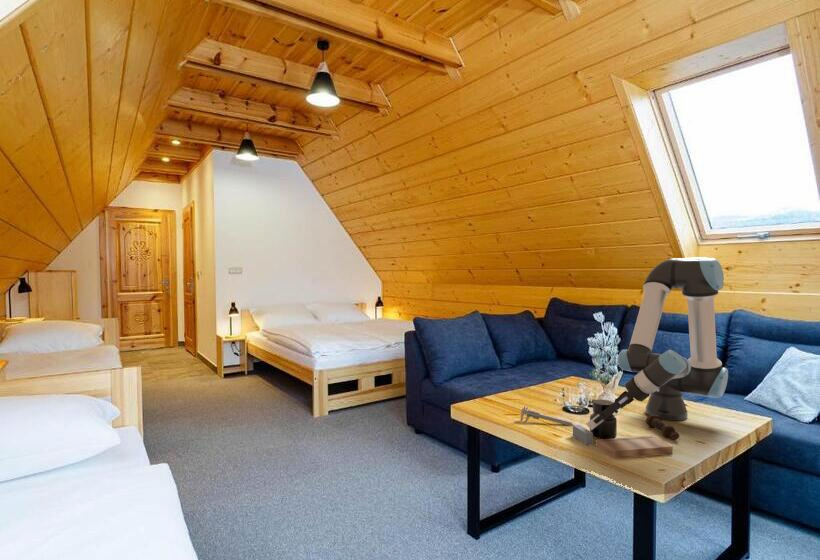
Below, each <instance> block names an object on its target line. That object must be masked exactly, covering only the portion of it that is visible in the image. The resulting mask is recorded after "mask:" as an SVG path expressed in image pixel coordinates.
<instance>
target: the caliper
mask: <svg viewBox="0 0 820 560" xmlns="http://www.w3.org/2000/svg"><path fill="white" fill-rule="evenodd" d="M528 408H529V406H527V407H526V405H524V406H523V408H522V409H521V410H520V411H521V412H520V421H521V422H523V418H524V416H525V415H526V418H525V422H526V423H527V422H528V420H529V419H530V417H531V418H533V419H534V420H539V419H543V420H546V421H550V422H554V423H558V424H561V425H564V426H569V425H572V426H573V425H576V424H575V423H573V422H572V421H569V420H566V419H562V418H559V417H554V416H551V415H546V414H543V413H541V412H539V411H535V410H533V409H528Z"/></svg>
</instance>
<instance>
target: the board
mask: <svg viewBox="0 0 820 560" xmlns="http://www.w3.org/2000/svg"><path fill="white" fill-rule="evenodd" d="M595 447H596V448H597V449H599V450H600V451H601V452H603V453H604V454H606V455H608V456H609V457H610V458H612V459H614V460H615V459H625V458H626V459H627V458H634V457H635V458H636V457H637V458H638V457H639V458H640V457H650V456H659V455H673V453H674V452H673V450H674V449H673V446H672V445H671V444H669V443H667V442H665V441H663V440H661V439H660V438H658V437H656V436H653V435H642V436H629V437H628V436H627V437H616V438H614V439H596V441H595Z"/></svg>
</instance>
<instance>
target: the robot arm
mask: <svg viewBox="0 0 820 560" xmlns="http://www.w3.org/2000/svg"><path fill="white" fill-rule="evenodd" d="M724 277H725V276H724V270H723V268H722V264H721V263H720V261H719V260H718V259H716V258H713V257H711V258H710V257H683V258H681V257H679V258H678V257H677V258H676V257H673V258H668V259H665V260H662V261H661V262H660V263H658V264H656V266H655V267H653V268H652V270H650V272H649V274H647V276H646V278H645V280H644V283H643V286H642V289H643V291H644V293H643V296H642V301H641V304H640V307H639V311H638V315H637V318H636V320H635V321H636V322H635V323H634V324H635V325H634V329H633V331H632V336H631V337H630V338H631V339H630V343H629V345H628V346H629V347H628V348H627V349H621V350H620V352H619V354H618V356H617V365H618V367H619V368H620V369H621V370H622V371H627V372H631V373H636V374H635V375H634V377H631V378H630V379H629V380H627V382H625V384H624V386H625V389H626V390H625V391H623V392H622V393H620V395H619V396H618V397H617V398H615V399H614V402H613V404H611V405H610V406H609V407H607V408H606V409H605V410H604V411H602V412H599V411H598V413H599V414H598V415H596V416H595V417H594V418H593V419H591V420H590V419H589V420H588V421H587V422H586V423H585V425H586V426H587V427H588V428H589V430H590V429H591V430H592V429H594V428H595V427H596V426H598V425H599V424H600V423H602V422H603V421H604V420H606V418H607V417H609V416H610V415H611V414H613V415H614V414H618V413H619V411H618V410H620V409H623V408H624V407H626V406H627V405H629V404H631V403H633V401H635V400H636V401H639V402H643V401H645V400H646V399H647V398H648V400H647V403H646V405H645V414H646V415H647V416H649V415H651V414H655V415H658V416H659V417H660V419H661V420H664V421H683V420H684V421H685V420H687V419H688V415H689V414H688V410H687V407H686V404H685V400H684V399H683V398H684V396H683V394H684V393H685V394H690V395H691V394H692V395H695V396H696V395H697V396H701V397H707V398H715V399H716V398H721V397H722V396H723V395H724V394H725V391H726V388H727V385H728V378H729V370H728V368H727V367H723V363H722V361H721V359H720V358H718V357H717V356H718V355H717V352H718V351H717V336H716V335H717V334H716V333H717V332H716V317H715V315H716V314H715V313H716V312H715V297H717V296H718V295H719V291H720V290H722V289H723V288H724V286H725V285H724V284H725V283H724V281H725V278H724ZM674 289H675V290H677V289H678V290H681V293H682V294H681V295H682V296H684V297H685V298H686V300H687V301H686V302H687V315H688V316H687V317H688V319H687V320H688V333H689V334H688V335H689V349H690V350H689V351H690V357H689V358H688V359H687V358H686V357H684V356H682V355H680V354H679V353H678V352H676V350H675V351H674V350H673V349H668V350H666V351H664V352H663V353H656V352H655V353H654V352H652V351H653V348H654V342H655V341H656V340H655V339H656V335H657V332H658V329H659V324H660V320H661V318H662V314H663V310H664V306H665V302H666V300H667V299H666V298H667V296H670V295H671V291H672V290H674Z"/></svg>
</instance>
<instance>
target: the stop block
mask: <svg viewBox="0 0 820 560" xmlns="http://www.w3.org/2000/svg"><path fill="white" fill-rule="evenodd" d="M573 436H574V438H575V439H576V438H577V439H576V440H578V441H579V440H580V441H579V442H581V443H582V444H583V445H585V446H593V445H594V437H593V433H592V432H590V429H587V428H586V427H584V426H582V425H581V424H575V425H572V437H573Z"/></svg>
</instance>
